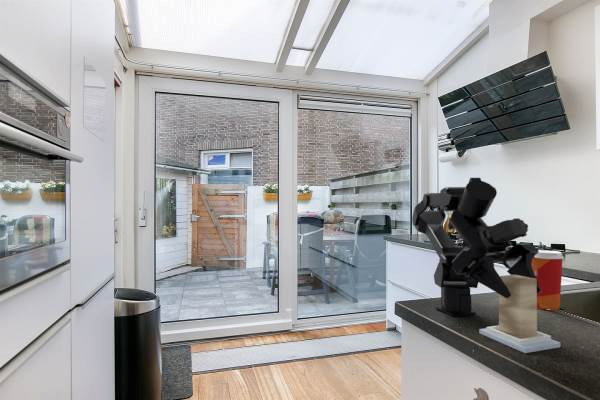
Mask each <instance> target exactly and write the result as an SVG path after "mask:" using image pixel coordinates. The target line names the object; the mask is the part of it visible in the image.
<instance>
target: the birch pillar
mask: <svg viewBox="0 0 600 400" xmlns="http://www.w3.org/2000/svg"><path fill="white" fill-rule="evenodd" d="M499 276H500V278H501V279H502V281H503V282H504V284H505V285H506V287H507V288H508V290H509V292H510V293H511V296H510V297H509V298H505V297H503V296H502V295H500V294H498V325H499V331H501V332H503V333H506V334H508V335H511V336H513V337H516V338H518V339H524V338H531V337H537V331H538V308H537V279H535V278H530V277H524V276H519V275H510V274H508V275H506V274H505V275H499Z"/></svg>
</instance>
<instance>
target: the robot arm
mask: <svg viewBox="0 0 600 400" xmlns="http://www.w3.org/2000/svg"><path fill="white" fill-rule="evenodd" d="M497 194H498V192H497V189H496V187H494V186H493V185H492V184H490V183H488V182H486V181H483V180H482V179H481V177H470V178H469V180H468V183H467V184H466V186H445V187H443V188H442V189H440V191H439V192H426V193H424V194H423V198H422V200H421V201H420V202H419V203H417V204H416V205H415V207H414V209H413V213H412V217H411V221H412V225H413V226H414V228H415V229H416V230H417V232H419V233H421V234H423V235H426V236H427V239H428V240H429V242H430V244H431V246H432V247H433V249H434V251H435V253H436V254H437V256H438V258H439V260H438V261H439V262H438V263H437V266H436V269H435V271H434V273H433V279H434V281H433V282H434V284H435V285H436V286H438V287H439V288H440V295H441V296H440V299H441V300H440V305H439V306H438V305H437V306H435V309H436V310H437V311H441V312H442V313H445V314H448V315H449V316H452V317H459V316H468V315H469V316H470V315H476V314H477V311H475V310H473V309H472V295H471V289H472V288H473V289H477V288H478V286H479V284H481V285H483V286H484V287H487V288H488V289H490V290H492V292H494V293H497V294H498V295H499V294H500V295H502V296H503V297H505V298H509V297H510V296H511V293H510V292H509V290H508V288H507V287H506V285H505V284H504V282H503V281H502V279H501V278H500V276H501V275H499V273H498V272H497V270H496V269H495V263H502V265H503V266H504V267H505V268H506V269H508V270H506V272H507V273H508V275H519V276H524V277H530V278H535V279H536V277H535V274H534V272H533V268H532V259H533V258H534V257H535V255H536V254H537V253H538V252H539V251H538V250H539V249H538V248H537V247H536V246H535V245H534V244H533V243H528V242H527V243H525V242H523V243H514V245H513V246H512V247H510V246H511V245H512V242H511V241H514V240H516V239H518V238H524V237H526V236H527V235H528V234H527V232H528V231H529V229H528V228H529V225H528V223H525V221H524V220H522V219H521V218H512V219H506V220H503V221H500V222H498V223H496V224H494V225H488V224H487V223H486V222H485V221H484V219H482V218H484V217H485V216H486V217H487V214H488V212H489V210H490V207H491V206H492V204H493V203H494V201H495V199H496V196H497ZM428 208H440V210H427V209H428ZM446 212H452V213H451V215H450V217H449V218H448V224H447V228H448V230H450V231H451V230H454V229H455V232H456V233H457V234H458V235H459V236H460V238H461V239H462V240H463V241H462V242H461V243H460V245H461V247H460V246H459V247H457V246H456V244H455V242H454V241H453V240H452V239H451V237H450V235H449V234H448V233H447V231H446V230H445V228H444V226H443V224H444V222H445V219H446V216H447V215H446ZM509 247H510V248H509ZM507 248H509V250H508V251H507ZM539 292H541V289H540V287H539V284H538V282H537V294H538V293H539Z"/></svg>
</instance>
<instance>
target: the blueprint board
mask: <svg viewBox="0 0 600 400" xmlns="http://www.w3.org/2000/svg"><path fill="white" fill-rule="evenodd" d="M478 331H479V333H478V334H480V335H483V336H485V337H487V338H489V339H492V340H494V341H496V342H499V343H500V344H502V345H505V346H507V347H510V348H513V349H514V350H517V351H519V352H521V353H524V354H528V353H533V352H535V353H536V352H541V351H544V350H551V349H557V348H558V349H559V348H561V342H559V341H557V340H554V339H552V335H549V334H546V333H544V332H541V331H538V330H537V337H531V338H524V339H518V338H516V337H513V336H511V335H508V334H506V333H503V332H501V331H499V324H498V325H491V326H486V327H484V328H479V329H478Z"/></svg>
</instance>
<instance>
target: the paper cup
mask: <svg viewBox="0 0 600 400" xmlns="http://www.w3.org/2000/svg"><path fill="white" fill-rule="evenodd" d="M537 250H538V251H539V252H538V253H537V254H536V255H535V257H534V258H533V259H532V268H533V272H534V274H535V277H536V279H537V282H538V284H539V287H540V289H541V292H539V293H538V294H537V309H538V308H539V309H538V310H542V309H550V310H553V311H559V310H560V304H561V291H562V290H561V288H562V275H563V274H562V272H563V259H565V257H564V256H563V253H562V252H561V251H557V250H546V249H537ZM553 311H552V312H553Z"/></svg>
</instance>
